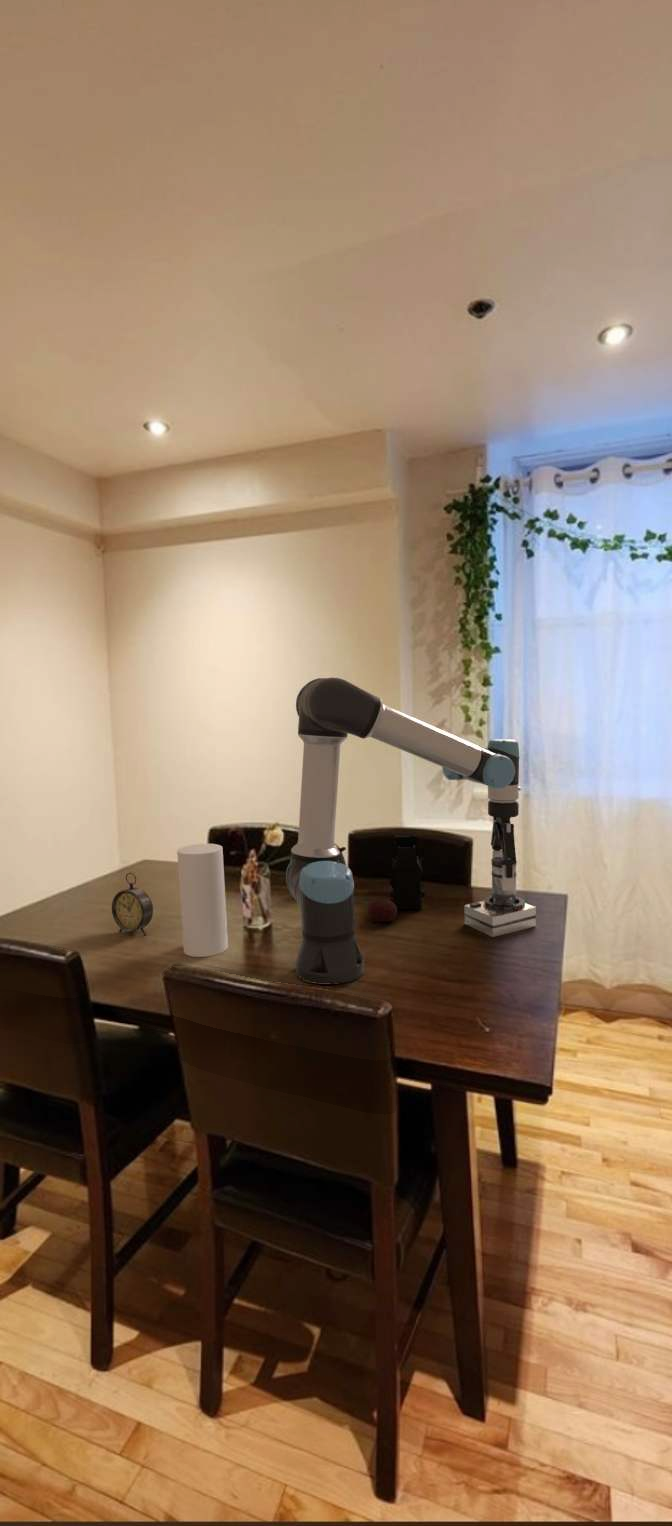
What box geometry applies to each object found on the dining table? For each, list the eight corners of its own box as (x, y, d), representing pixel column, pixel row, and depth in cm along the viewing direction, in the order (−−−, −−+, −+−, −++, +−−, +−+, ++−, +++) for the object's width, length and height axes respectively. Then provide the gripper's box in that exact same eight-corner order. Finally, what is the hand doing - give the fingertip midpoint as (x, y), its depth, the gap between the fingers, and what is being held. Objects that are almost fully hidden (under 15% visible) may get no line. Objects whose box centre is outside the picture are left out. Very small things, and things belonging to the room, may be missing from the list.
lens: (519, 909, 170) (518, 862, 169) (494, 909, 171) (493, 863, 169) (513, 901, 177) (513, 856, 175) (489, 901, 177) (489, 856, 176)
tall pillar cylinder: (180, 945, 168) (173, 846, 165) (222, 937, 172) (216, 841, 169) (188, 960, 158) (181, 856, 155) (232, 951, 162) (227, 850, 160)
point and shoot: (492, 937, 166) (492, 912, 165) (464, 923, 175) (464, 900, 175) (535, 926, 172) (535, 902, 171) (506, 913, 182) (506, 891, 181)
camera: (424, 895, 200) (422, 829, 198) (425, 910, 187) (424, 839, 184) (390, 895, 201) (388, 829, 199) (389, 910, 188) (387, 840, 186)
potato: (376, 928, 174) (376, 906, 174) (362, 919, 182) (361, 897, 181) (401, 923, 177) (401, 901, 177) (386, 914, 185) (386, 893, 184)
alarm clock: (112, 933, 178) (107, 873, 176) (126, 926, 183) (122, 868, 181) (144, 938, 173) (139, 877, 171) (158, 931, 178) (154, 871, 176)
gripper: (529, 808, 158) (528, 896, 160) (508, 792, 183) (507, 868, 185) (497, 809, 158) (497, 896, 161) (480, 792, 183) (480, 869, 186)
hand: (502, 882), depth 173 cm, fingers open, 13 cm apart
